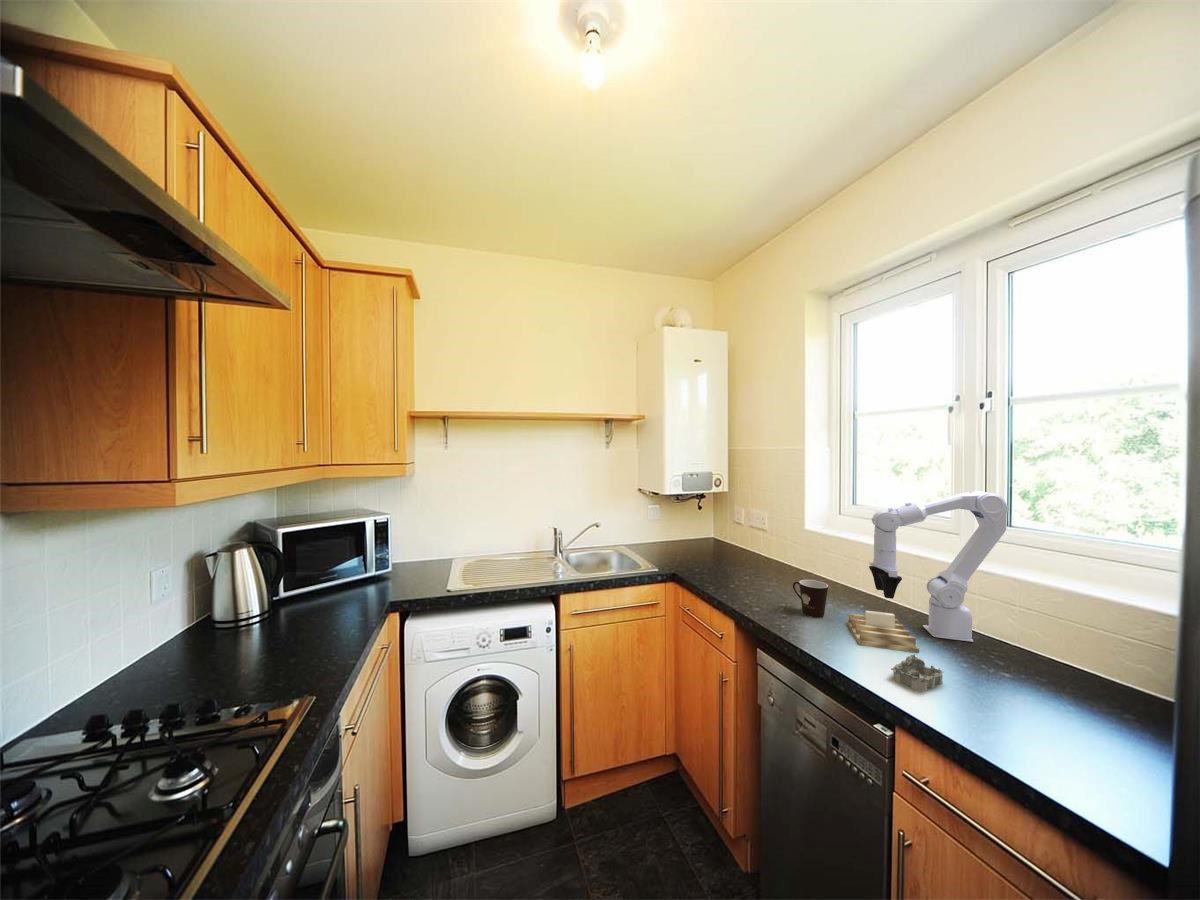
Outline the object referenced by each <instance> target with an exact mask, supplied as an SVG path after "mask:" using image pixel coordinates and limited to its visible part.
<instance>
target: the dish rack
mask: <svg viewBox="0 0 1200 900" xmlns="http://www.w3.org/2000/svg"><path fill="white" fill-rule="evenodd" d="M845 624H846V626H847V627H848V628H849V630H850V633H851V634H852V635H853V637H854V638H855V640H856V642H857V643H858V645H861V646H866V647H874V648H880V649H881V648H882V649H888V650H894V651H895V650H896V651H902V652H903V651H904V652H909V653H918V654H919V652H920V649H919V647H918V646H917V638H916V637H915V636H912V635H911V632H910V631H909V630H908V629H905V625H904V624H901V623H900V620H899V619H898V618H895V629H892V628H884V627H876V626H868V625H865V614H857V613H848V620H845Z"/></svg>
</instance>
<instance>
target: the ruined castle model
mask: <svg viewBox="0 0 1200 900" xmlns="http://www.w3.org/2000/svg"><path fill="white" fill-rule="evenodd" d="M890 670H891V671H893V676H892V678H893V679H895V682H897V683H899V684H907V685H909V686H910V687H911V689H913V690H914V691H921V692H925V693H926V692H927V691H928V688H930V689H934V688H935V687H936V684H938V685H942V684H943V683H944V682H943V674H944V673H945V670H942V669H940V668H935V666H933V665H930V667H929V666H926V664H925V661H924V660H923V659H921V658H918V657H916V654H915V653H914V654H910V655H908V656H907V657H906V658H905V660H902V661H900V662H899V663H898V664H895V665H894V667H892V668H890ZM920 673H922V675H923V676H922V675H920Z"/></svg>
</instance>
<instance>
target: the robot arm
mask: <svg viewBox="0 0 1200 900" xmlns="http://www.w3.org/2000/svg"><path fill="white" fill-rule="evenodd" d="M904 504H905V505H902V506H899V507H888V509H887V510H888V511H887V510H878V511H876V512H875V513H874V514H873V515H872V518H871V522H872V523H873V526H874V533H873V559H872V560H873V562H872V561H871V562H868V563H869V566H868V569H869V571H870V572H871V575H872V578H873V582H874V585H875V590H876V591H883V596H884V598H885V599H894V598H895V594H896V591H897V588H898V586H899V584H900V583H901V581H902V580H903V577H902V576H900V575H898V568H897V567H898V566H897V530H898V529H899V527H900V528H901V527H906V526H909V525H913V524H917V523H922V522H924V521H925V520H926V518H927V517H928V516H931V515H935V514H939V513H945V512H949V511H950V512H951V511H953V510H958V509H959V510H967V511H970V512H971V513H972V514H973V516H974V517H975V519H976V522H977V524H978V527H977V528H976V530H975V531H974V532H973V533H972V535H971V536H970V538H969V539H968V540H967V542H966V543H965V544H964V546H963V547H962V549H961V550H960V551H959V553H957V555H956V556H955V558H954V559H953V560H952V562H951V563H950V564H949V566H948V567H947V568H946V569H944V570H942V571H940V572H939V573H938V574H937V575H936V576H935V577H933V578H930V579H929V580H928V581H927V582H926V590H927V592H928V593H929V595H930V597H929V598H928V625H927V624H923V625H922V627H923V628H924V629H925V630H926V631H927V632H928V634H930V635H931V636H933V637H934V638H941V639H947V640H956V641H965V642H971V643H973V642H974V639H973V616H972V612H971V610H970V608H968V606H965V605H962V604H963V603H964V601H965V594H966V592H967V591H968V590H969V589H968V587H969V585H968V581H969V580H970V578H971V577H973V575H974V573H975V572H976V570H977V569H978V568H979V566H980V565H981V564H982V562H984V560H985V559H986V557H987V556H988V555H989V553H990V552H991V551H992V550H993V548H994V547H995V546H996V544H997V543H998V542H999V540H1000V539H1001V538H1002V536H1003V535H1004V534H1005V533H1006V531H1007V519H1008V518H1007V514H1008V512H1009V510H1010V507H1009V506H1008V504H1007V502H1006V501H1005V499H1004V498H1003V497H1002V496H1001V495H999V494H998V493H994V492H993V493H992V492H986V491H982V490H971V491H969V492H961V493H958V494H954V495H952V496H947V497H944V498H942V499H938V500H934V501H932V502H929V503H924V504H918V503H916V502H913V503H912V502H910V501H908V502H905V503H904Z"/></svg>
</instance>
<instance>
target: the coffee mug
mask: <svg viewBox="0 0 1200 900" xmlns="http://www.w3.org/2000/svg"><path fill="white" fill-rule="evenodd" d="M797 584H798V585H799V592H797V589H796V585H797ZM792 589H793V590H794V593H795V594H796V596H797V597H798V598H799V599H800V604H801V611H802V615H804V616H806V617H809V618H814V619H821V618H824V617H825V611H826V604H827V600H828V599H827V597H828V591H829V585H828V584H827V583H826V582H823V581H819V580H815V579H814V580H813V579H802V580H801V579H800V580H799V581H794V582H793V583H792ZM799 593H800V594H799Z"/></svg>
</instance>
